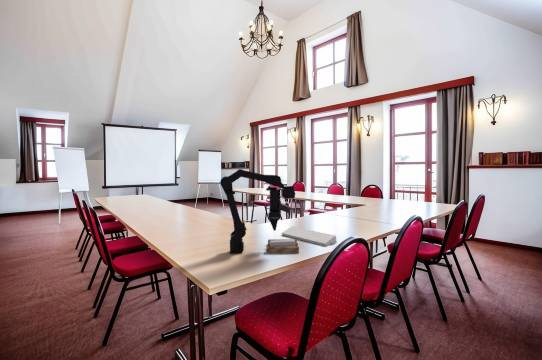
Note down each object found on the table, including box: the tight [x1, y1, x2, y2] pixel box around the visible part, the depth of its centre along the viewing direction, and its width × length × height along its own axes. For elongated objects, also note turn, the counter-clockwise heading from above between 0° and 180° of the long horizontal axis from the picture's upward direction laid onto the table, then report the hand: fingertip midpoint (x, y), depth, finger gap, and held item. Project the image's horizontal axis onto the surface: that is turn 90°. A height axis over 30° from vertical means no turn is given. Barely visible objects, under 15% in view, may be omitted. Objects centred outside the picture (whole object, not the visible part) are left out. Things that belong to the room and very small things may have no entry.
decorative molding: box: [281, 226, 338, 247], centre depth 164 cm, size 34×5×10 cm
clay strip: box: [270, 238, 296, 247], centre depth 141 cm, size 13×4×4 cm, turn 97°
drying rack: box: [266, 238, 300, 254], centre depth 145 cm, size 16×16×3 cm
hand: (274, 228), depth 143 cm, fingers open, 9 cm apart
